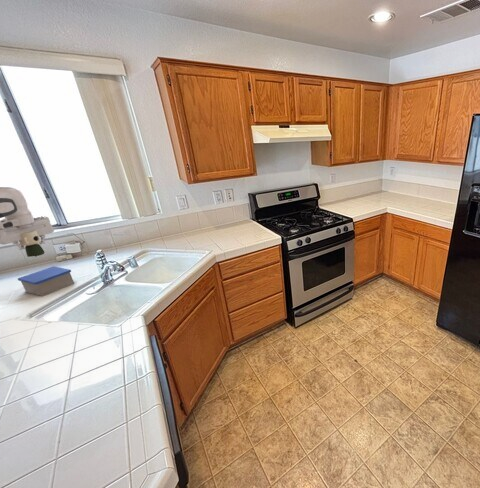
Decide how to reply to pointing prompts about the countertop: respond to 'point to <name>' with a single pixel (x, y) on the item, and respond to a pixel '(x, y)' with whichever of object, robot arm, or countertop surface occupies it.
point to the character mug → (31, 244)
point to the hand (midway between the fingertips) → (32, 246)
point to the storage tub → (46, 280)
